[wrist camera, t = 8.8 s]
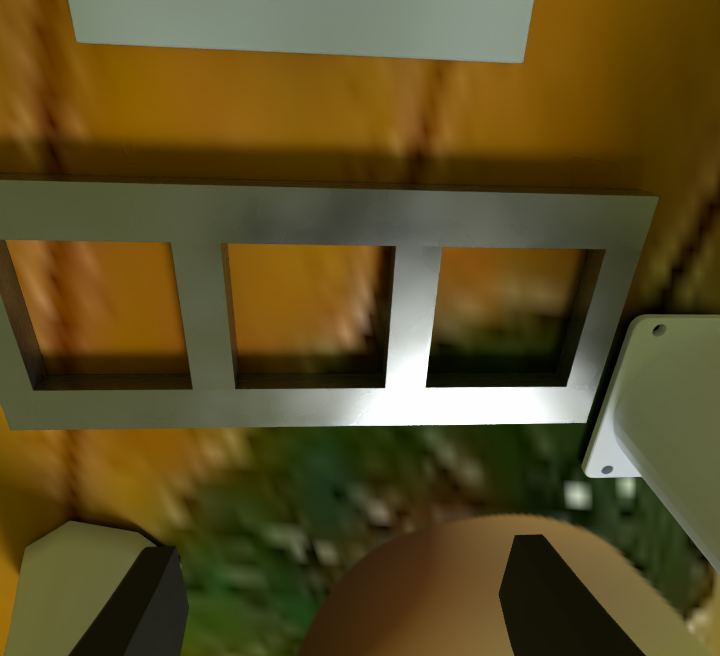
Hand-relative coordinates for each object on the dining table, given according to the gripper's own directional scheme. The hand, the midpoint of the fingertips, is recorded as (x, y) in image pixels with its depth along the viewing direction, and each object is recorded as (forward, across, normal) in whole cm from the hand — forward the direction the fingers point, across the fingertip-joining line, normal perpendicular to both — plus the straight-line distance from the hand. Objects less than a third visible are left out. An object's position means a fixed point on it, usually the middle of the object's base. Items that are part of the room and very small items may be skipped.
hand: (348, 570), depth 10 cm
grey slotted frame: (+9, +1, -2) cm, 9 cm away
